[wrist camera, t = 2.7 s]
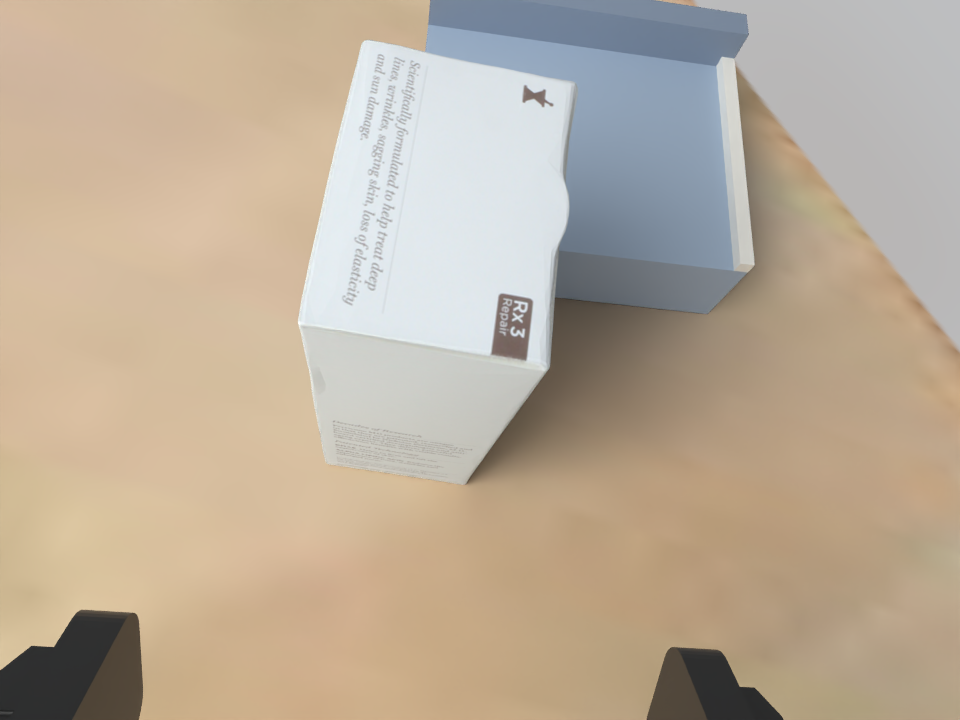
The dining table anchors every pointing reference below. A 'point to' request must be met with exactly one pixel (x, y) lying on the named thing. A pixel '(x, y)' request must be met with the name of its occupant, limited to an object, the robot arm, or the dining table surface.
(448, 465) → the skincare box
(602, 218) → the tray
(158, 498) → the dining table surface
